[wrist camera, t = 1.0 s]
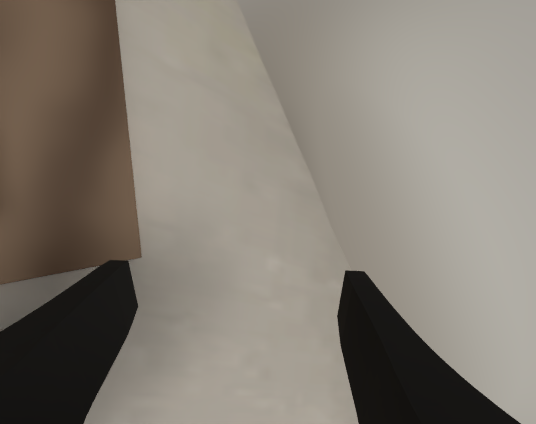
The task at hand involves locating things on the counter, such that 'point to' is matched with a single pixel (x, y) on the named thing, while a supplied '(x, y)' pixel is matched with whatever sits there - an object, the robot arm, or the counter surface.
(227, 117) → the counter surface
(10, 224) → the mounting plate
